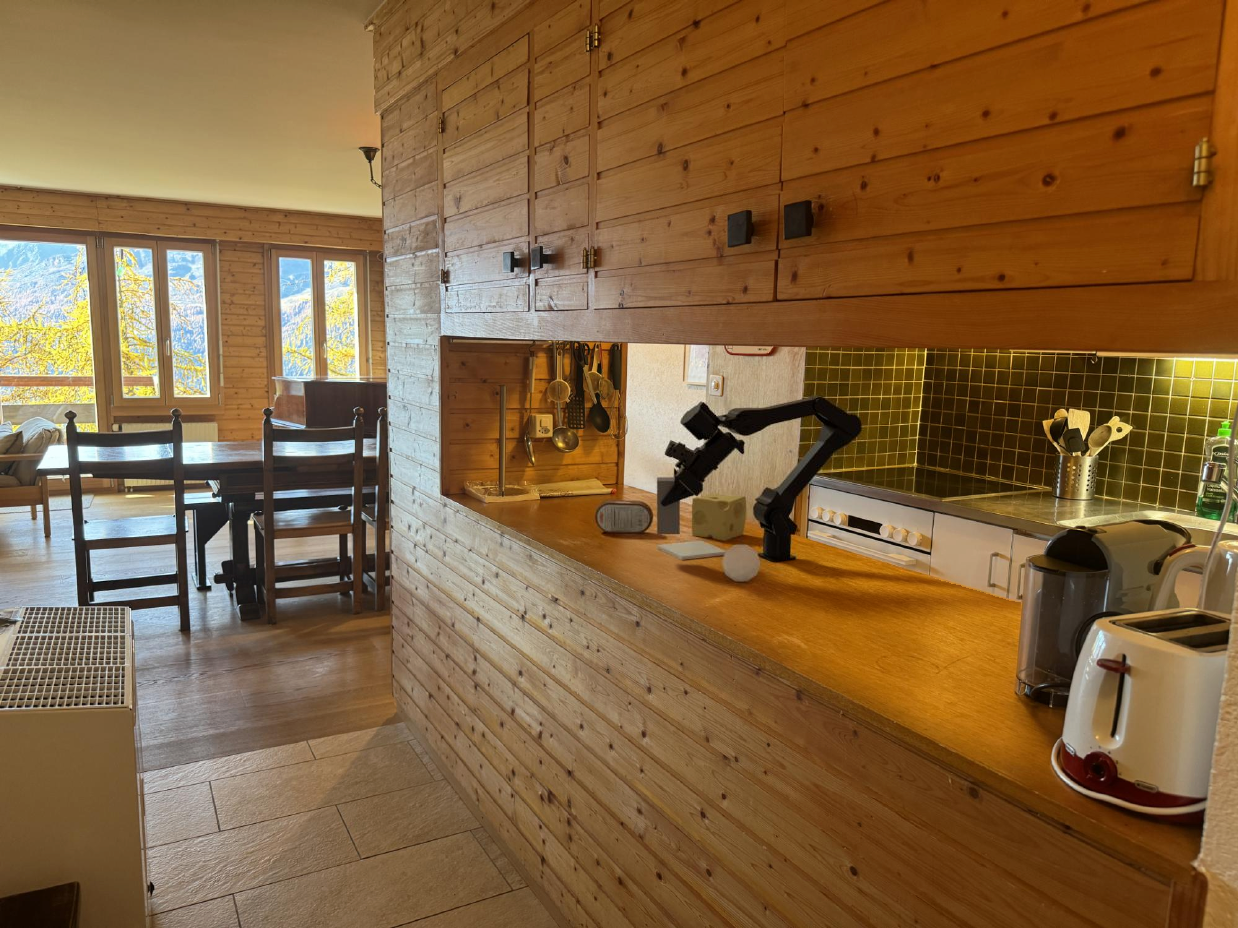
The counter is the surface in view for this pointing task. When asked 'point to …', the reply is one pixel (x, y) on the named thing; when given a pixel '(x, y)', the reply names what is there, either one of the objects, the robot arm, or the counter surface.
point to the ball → (741, 563)
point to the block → (667, 508)
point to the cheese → (718, 516)
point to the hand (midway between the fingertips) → (662, 502)
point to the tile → (691, 550)
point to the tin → (623, 516)
